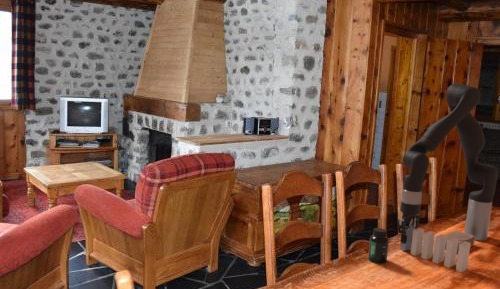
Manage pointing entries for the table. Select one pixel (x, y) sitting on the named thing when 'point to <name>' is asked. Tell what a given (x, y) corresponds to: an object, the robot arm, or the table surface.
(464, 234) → the brick
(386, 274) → the table surface
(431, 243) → the tile
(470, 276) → the table surface
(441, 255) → the tile
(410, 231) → the tile
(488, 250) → the table surface
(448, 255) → the tile
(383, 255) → the supplement bottle
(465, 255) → the tile
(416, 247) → the tile
